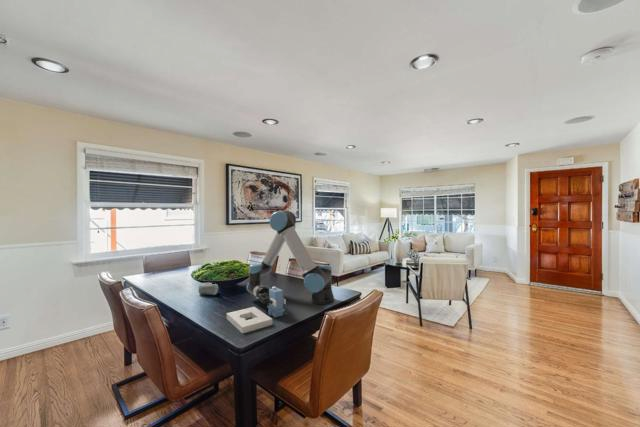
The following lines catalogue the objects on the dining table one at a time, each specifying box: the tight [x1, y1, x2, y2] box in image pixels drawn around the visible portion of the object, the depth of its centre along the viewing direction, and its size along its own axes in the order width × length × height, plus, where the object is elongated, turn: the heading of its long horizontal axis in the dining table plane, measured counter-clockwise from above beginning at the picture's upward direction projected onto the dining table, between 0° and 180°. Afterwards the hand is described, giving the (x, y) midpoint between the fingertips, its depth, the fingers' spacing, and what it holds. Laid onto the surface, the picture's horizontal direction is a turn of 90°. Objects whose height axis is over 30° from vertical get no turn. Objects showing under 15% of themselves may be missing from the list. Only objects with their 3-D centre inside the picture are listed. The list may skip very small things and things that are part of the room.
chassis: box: [226, 306, 274, 334], centre depth 142 cm, size 22×16×3 cm
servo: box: [266, 285, 286, 318], centre depth 151 cm, size 11×6×15 cm, turn 38°
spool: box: [198, 282, 219, 296], centre depth 187 cm, size 14×10×10 cm
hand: (280, 302), depth 148 cm, fingers closed on servo, 5 cm apart
